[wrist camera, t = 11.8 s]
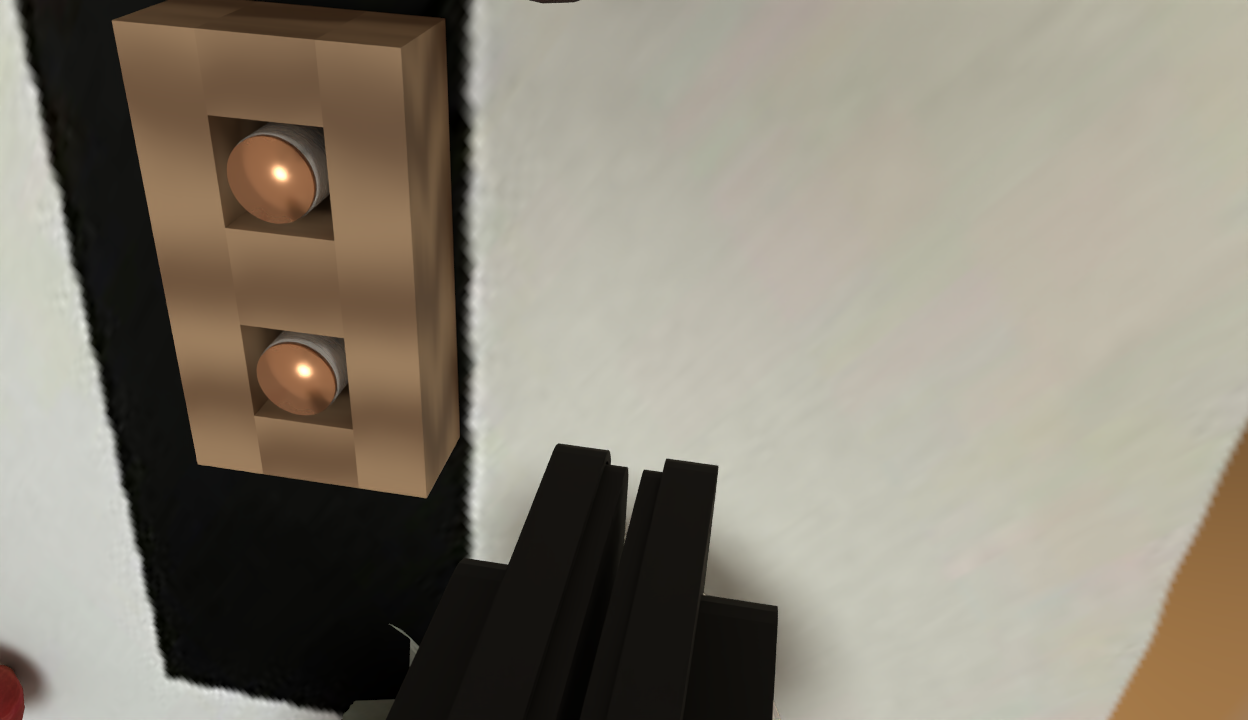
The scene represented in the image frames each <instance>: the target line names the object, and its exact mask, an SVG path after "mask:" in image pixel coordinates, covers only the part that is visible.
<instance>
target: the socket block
mask: <svg viewBox="0 0 1248 720" xmlns="http://www.w3.org/2000/svg"><path fill="white" fill-rule="evenodd" d="M112 24H113V29H114V34H115V39H116V44H117V49H118V55H119V60H120V65H121V70H122V75H123V80H124V85H125V91H126V96H127V101H128V106H129V111H130V116H131V122H132V127H133V132H134V137H135V142H136V147H137V153H138V158H139V163H140V168H141V173H142V178H143V183H144V189H145V194H146V199H147V204H148V209H149V214H150V220H151V225H152V230H153V235H154V240H155V245H156V251H157V256H158V261H159V266H160V271H161V276H162V281H163V287H164V292H165V297H166V302H167V307H168V312H169V318H170V323H171V328H172V333H173V338H174V343H175V348H176V354H177V359H178V364H179V369H180V374H181V379H182V385H183V390H184V395H185V400H186V405H187V410H188V416H189V421H190V426H191V431H192V436H193V441H194V446H195V452H196V457H197V462H198V464H200V465H206V466H213V467H220V468H227V469H233V470H240V471H247V472H254V473H261V474H267V475H274V476H281V477H288V478H294V479H301V480H308V481H315V482H321V483H328V484H335V485H342V486H348V487H355V488H362V489H369V490H375V491H382V492H389V493H396V494H403V495H409V496H416V497H423V498H427V496H428V495H429V493H430V491H431V489H432V487H433V485H434V484H435V482H436V480H437V478H438V476H439V474H440V472H441V471H442V469H443V467H444V465H445V463H446V461H447V460H448V458H449V456H450V454H451V452H452V450H453V448H454V447H455V445H456V443H457V441H458V439H459V437H460V423H459V395H458V366H457V338H456V310H455V282H454V253H453V225H452V197H451V169H450V141H449V112H448V84H447V56H446V28H445V18H436V17H425V16H414V15H403V14H392V13H381V12H370V11H359V10H348V9H337V8H326V7H315V6H304V5H293V4H282V3H271V2H260V1H249V0H168V1H165V2H162V3H159V4H156V5H154V6H151V7H148V8H145V9H142V10H140V11H137V12H134V13H131V14H128V15H126V16H123V17H120V18H117V19H115V20H112ZM269 122H278V123H287V124H297V125H306V126H316V127H323V129H324V139H325V149H326V159H327V170H328V180H329V190H330V194H329V195H328V196H327V197H326V198H325V199H324V200H322V201H321V202H320V203H319V204H318V205H317V206H316V207H314V208H313V209H312V210H311V211H310V212H309V213H307V214H306V215H305V216H304V217H302V218H300V219H298V220H296V221H293V222H290V223H285V224H275V223H270V222H267V221H264V220H261V219H259V218H257V217H255V216H254V215H252V214H251V213H249V212H248V211H247V210H246V209H245V208H244V207H243V206H242V205H241V204H240V203H239V202H238V200H237V199H236V197H235V196H234V194H233V192H232V190H231V188H230V185H229V182H228V178H227V163H228V159H229V156H230V154H231V152H232V150H233V149H234V148H235V147H236V145H237V144H238V143H239V142H240V141H241V140H242V139H244V138H246V137H247V136H249V135H250V134H252V133H253V132H255V131H256V130H258V129H260V128H261V127H263V126H264V125H266V124H267V123H269ZM284 330H285V331H292V332H300V333H308V334H315V335H323V336H331V337H338V338H344V342H345V353H346V363H347V373H348V383H347V385H346V386H345V387H344V389H343V390H342V391H341V393H340V394H339V395H338V396H337V398H336V399H335V400H334V402H333V403H332V404H331V405H330V406H329V407H327V408H326V409H325V410H323V411H322V412H320V413H317V414H314V415H297V414H293V413H290V412H288V411H285V410H283V409H281V408H280V407H278V406H277V405H275V404H274V403H273V402H272V401H271V400H270V399H269V398H268V397H267V396H266V395H265V393H264V392H263V390H262V389H261V387H260V385H259V382H258V378H257V364H258V361H259V359H260V357H261V355H262V353H263V352H264V351H265V349H266V348H267V347H268V346H269V345H270V344H271V343H272V342H273V341H274V340H275V339H276V338H277V337H278V336H279V335H280V334H281V333H282V332H283V331H284Z"/></svg>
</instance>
